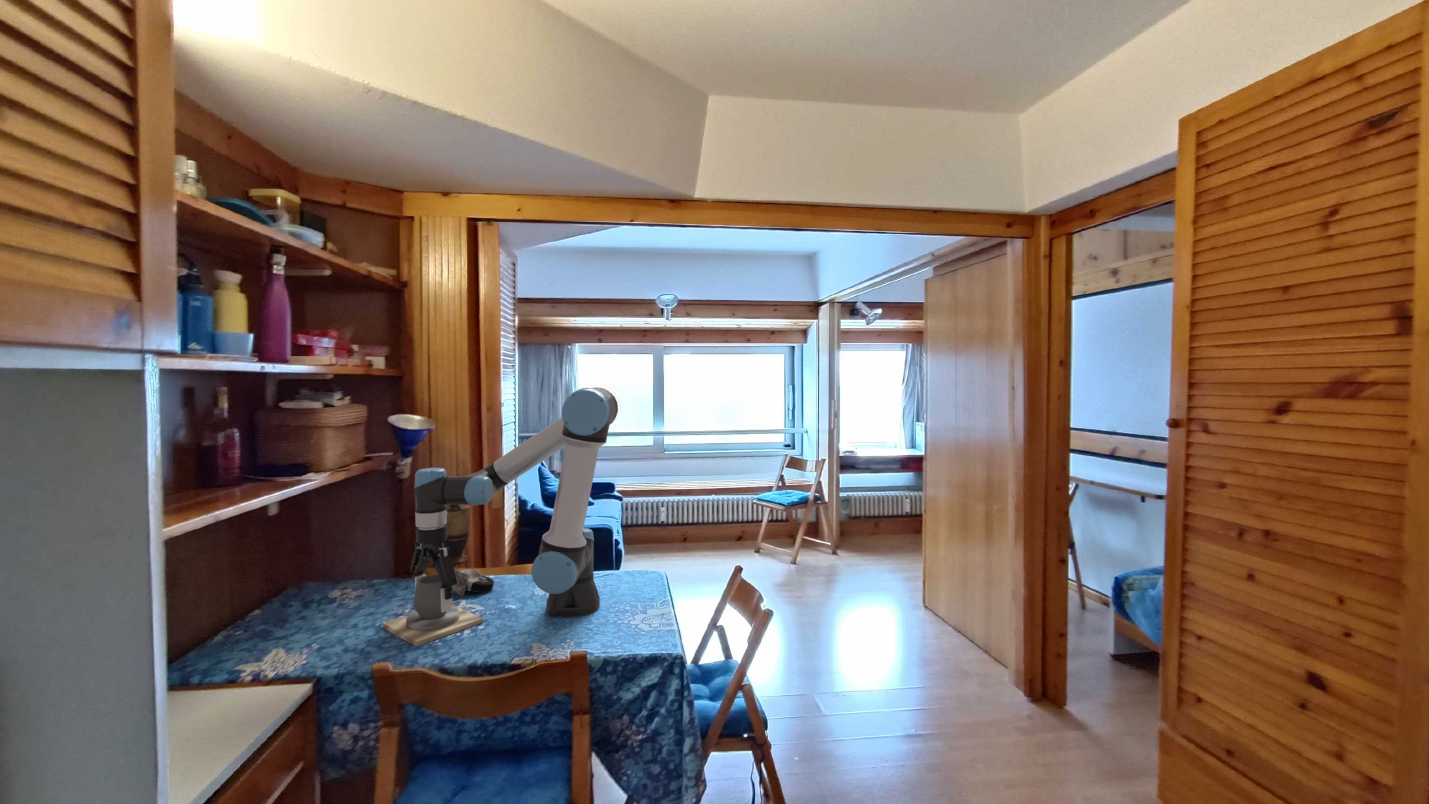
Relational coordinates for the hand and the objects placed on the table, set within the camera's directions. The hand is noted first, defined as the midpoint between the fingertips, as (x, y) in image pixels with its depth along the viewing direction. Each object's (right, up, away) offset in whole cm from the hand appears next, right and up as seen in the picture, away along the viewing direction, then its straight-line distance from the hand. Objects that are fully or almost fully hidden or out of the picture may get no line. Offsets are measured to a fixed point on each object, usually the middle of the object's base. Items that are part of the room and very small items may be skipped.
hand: (433, 604), depth 160 cm
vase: (-18, -3, +56) cm, 59 cm away
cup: (0, -3, 0) cm, 3 cm away
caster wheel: (0, -5, +26) cm, 27 cm away
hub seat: (0, -6, 0) cm, 6 cm away
